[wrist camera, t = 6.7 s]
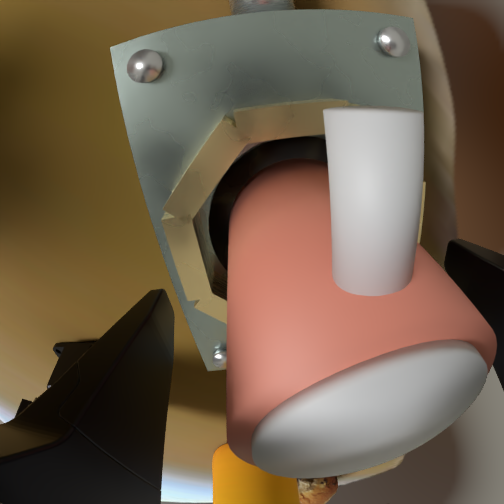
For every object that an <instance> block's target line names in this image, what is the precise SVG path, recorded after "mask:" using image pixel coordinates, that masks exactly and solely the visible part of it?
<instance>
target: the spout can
mask: <svg viewBox="0 0 504 504" xmlns="http://www.w3.org/2000/svg"><path fill="white" fill-rule="evenodd" d="M323 115H324V125H325V135H326V147H327V159H328V163H325V162H322V161H319V160H315V159H308V158H294V159H287V160H282V161H279V162H276V163H273V164H271V165H269V166H267V167H265V168H263V169H262V170H260V171H259V172H257V173H256V174H255V175H253V176H252V177H251V178H250V179H249V180H248V181H247V182H246V183H245V184H244V186H243V187H242V188H241V190H240V191H239V193H238V194H237V196H236V198H235V200H234V202H233V205H232V209H231V212H230V218H229V242H228V283H227V359H226V410H227V443H228V445H229V448H230V450H231V451H232V452H233V453H234V454H235V455H236V456H237V457H238V458H240V459H241V460H243V461H245V462H247V463H249V464H251V465H254V466H257V467H259V468H260V469H261V470H263V471H265V472H268V473H270V474H273V475H277V476H282V477H289V478H323V477H331V476H338V475H343V474H348V473H352V472H357V471H360V470H364V469H367V468H371V467H374V466H377V465H379V464H382V463H385V462H387V461H390V460H392V459H395V458H397V457H399V456H401V455H403V454H406V453H408V452H409V451H411V450H413V449H415V448H417V447H419V446H421V445H422V444H424V443H426V442H427V441H429V440H430V439H432V438H433V437H435V436H436V435H438V434H439V433H441V432H442V431H443V430H445V429H446V428H447V427H449V426H450V425H451V424H452V423H453V422H455V421H456V420H457V419H458V418H459V417H460V416H461V415H462V414H463V413H464V412H465V411H466V410H467V409H468V408H469V407H470V405H471V404H472V403H473V402H474V401H475V399H476V398H477V396H478V395H479V393H480V392H481V390H482V388H483V386H484V384H485V381H486V378H487V375H488V373H489V371H490V369H491V367H492V364H493V362H494V359H495V355H496V350H497V340H496V335H495V333H494V331H493V329H492V328H491V327H490V325H489V324H488V323H487V321H486V320H485V319H484V317H483V316H482V315H481V314H480V312H479V311H478V310H477V308H476V307H475V306H474V305H473V304H472V302H471V301H470V300H469V299H468V297H467V296H466V295H465V294H464V293H463V291H462V290H461V289H460V288H459V287H458V286H457V284H456V283H455V282H454V281H453V280H452V279H451V278H450V276H449V275H448V274H447V273H446V272H445V271H444V270H443V269H442V267H441V266H440V265H439V264H438V263H437V262H436V261H435V260H434V259H433V258H432V257H431V256H430V254H429V253H428V252H427V251H426V250H425V249H424V248H423V247H422V246H421V245H420V244H419V243H418V242H417V241H418V233H419V224H420V214H421V203H422V190H423V171H424V113H423V112H422V111H418V110H414V109H408V108H400V107H389V106H343V107H334V108H328V109H324V110H323Z"/></svg>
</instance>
